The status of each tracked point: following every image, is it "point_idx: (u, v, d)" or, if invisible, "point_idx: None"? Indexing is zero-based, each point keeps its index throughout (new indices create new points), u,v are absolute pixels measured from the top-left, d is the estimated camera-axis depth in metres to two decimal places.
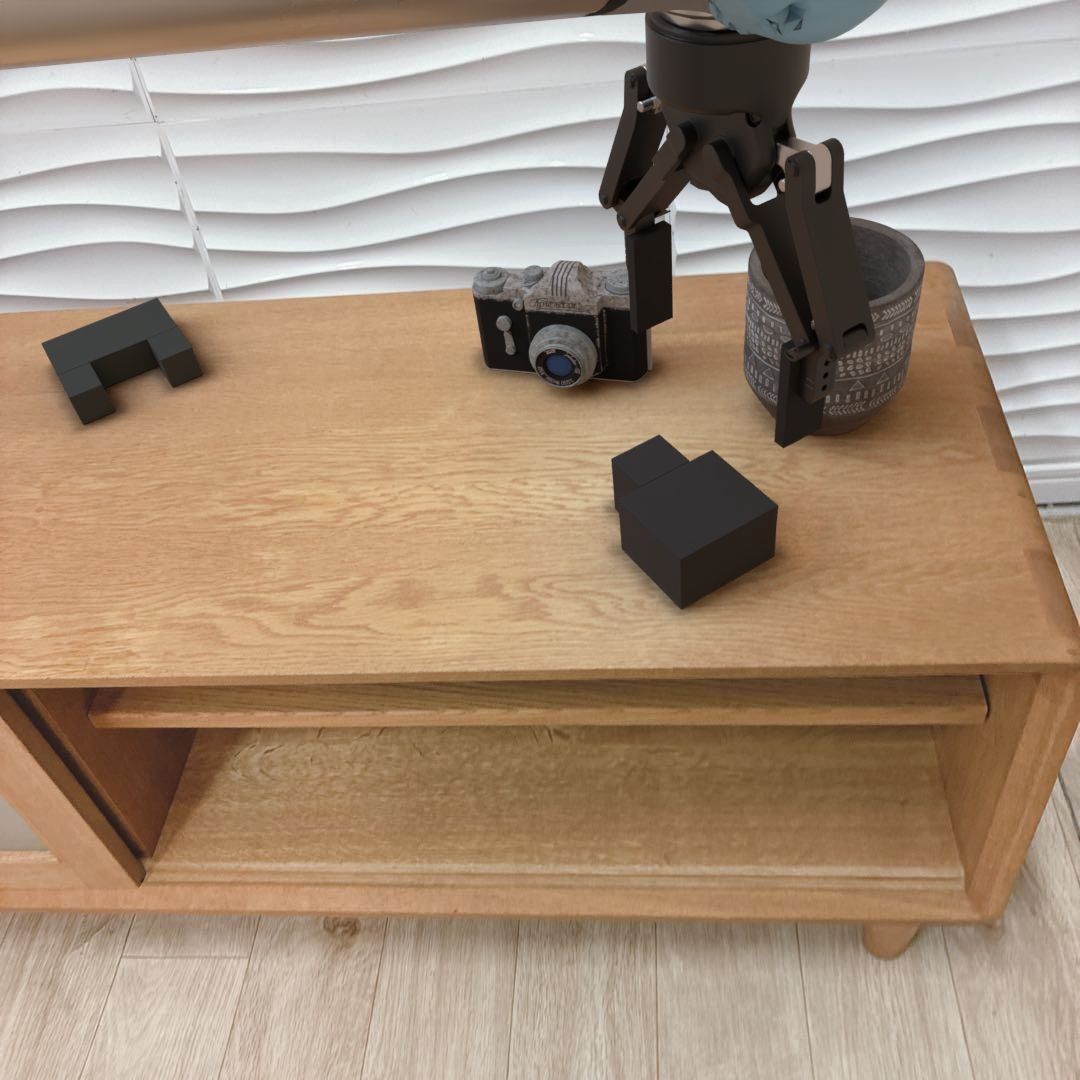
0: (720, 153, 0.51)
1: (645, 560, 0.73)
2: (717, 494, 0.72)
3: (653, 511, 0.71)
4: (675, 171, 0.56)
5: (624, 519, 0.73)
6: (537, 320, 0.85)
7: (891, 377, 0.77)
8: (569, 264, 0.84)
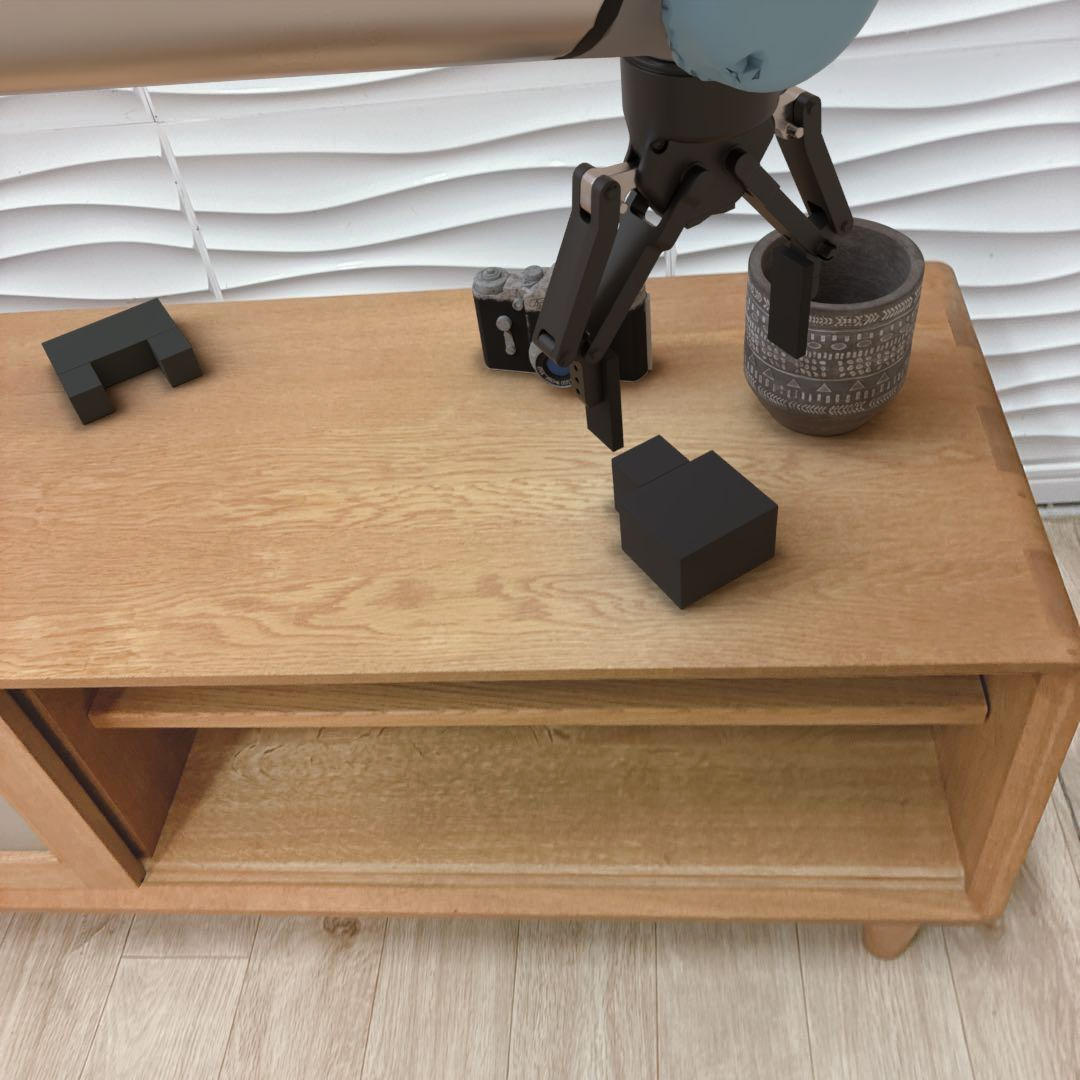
0: None
1: (645, 560, 0.73)
2: (717, 494, 0.72)
3: (653, 511, 0.71)
4: None
5: (624, 519, 0.73)
6: None
7: (891, 377, 0.77)
8: None
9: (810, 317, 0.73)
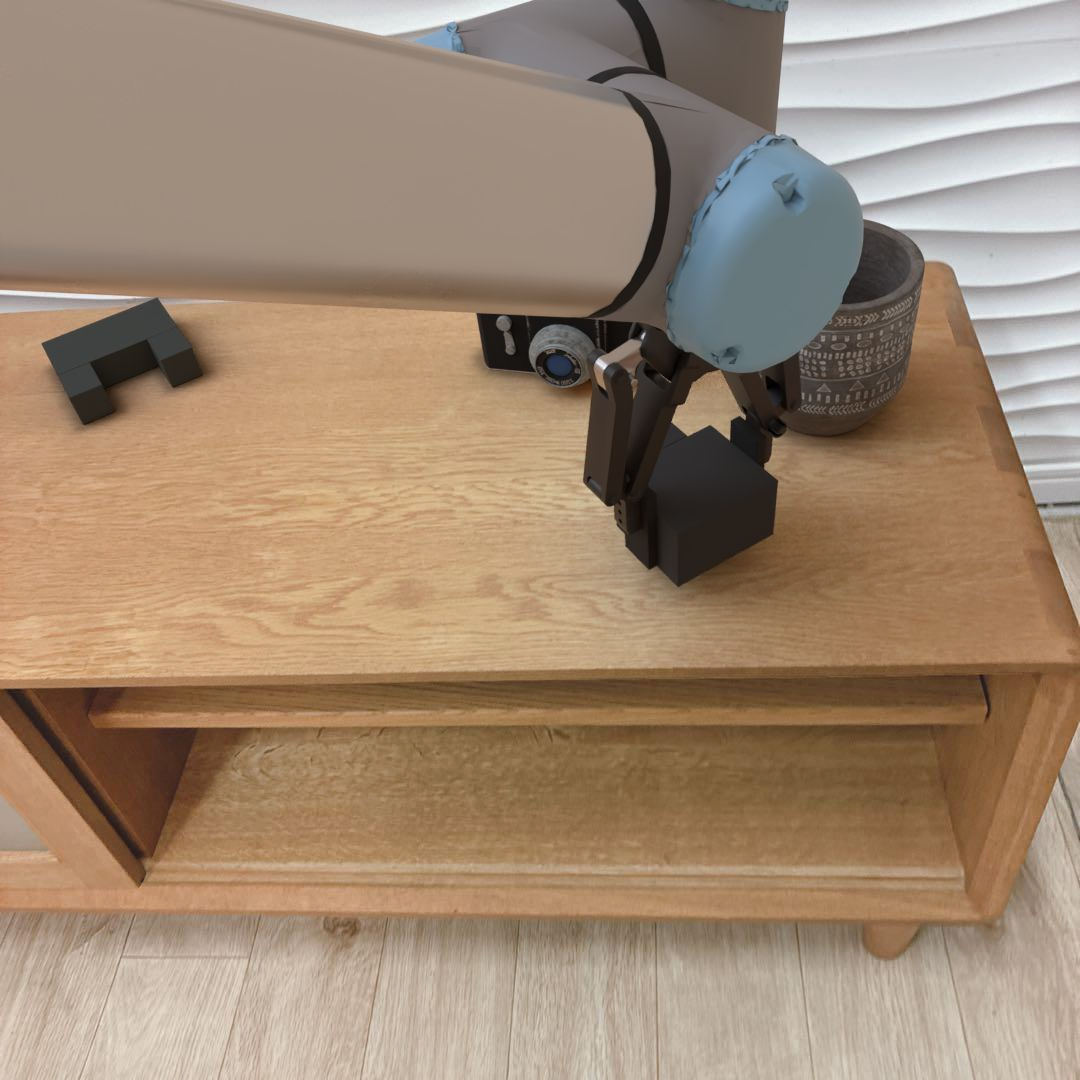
0: None
1: None
2: (716, 469, 0.70)
3: (650, 486, 0.70)
4: None
5: None
6: (537, 320, 0.85)
7: (891, 377, 0.77)
8: None
9: None
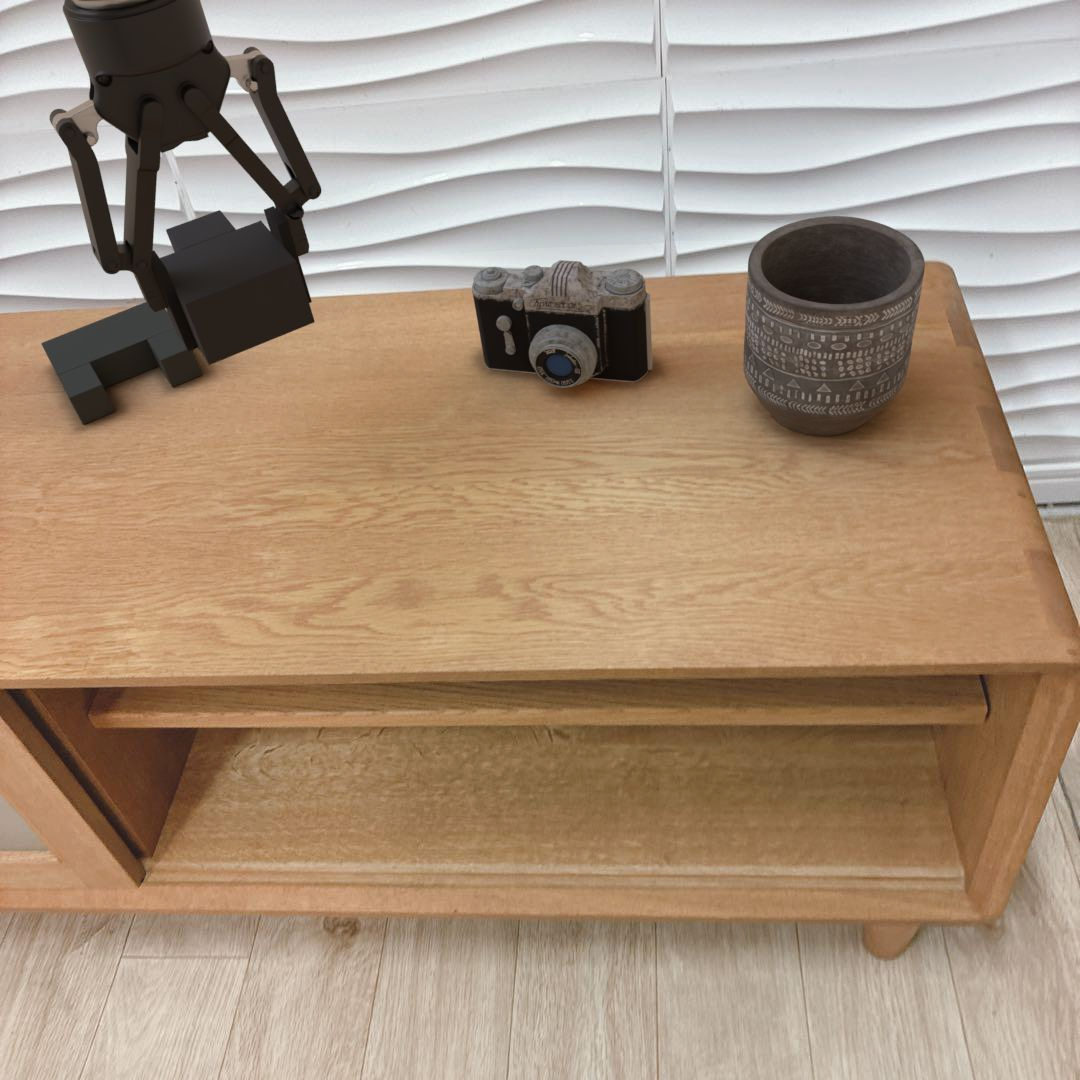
0: (201, 92, 0.65)
1: None
2: (246, 254, 0.74)
3: (181, 268, 0.74)
4: None
5: None
6: (537, 320, 0.85)
7: (891, 377, 0.77)
8: (569, 264, 0.84)
9: (810, 317, 0.73)
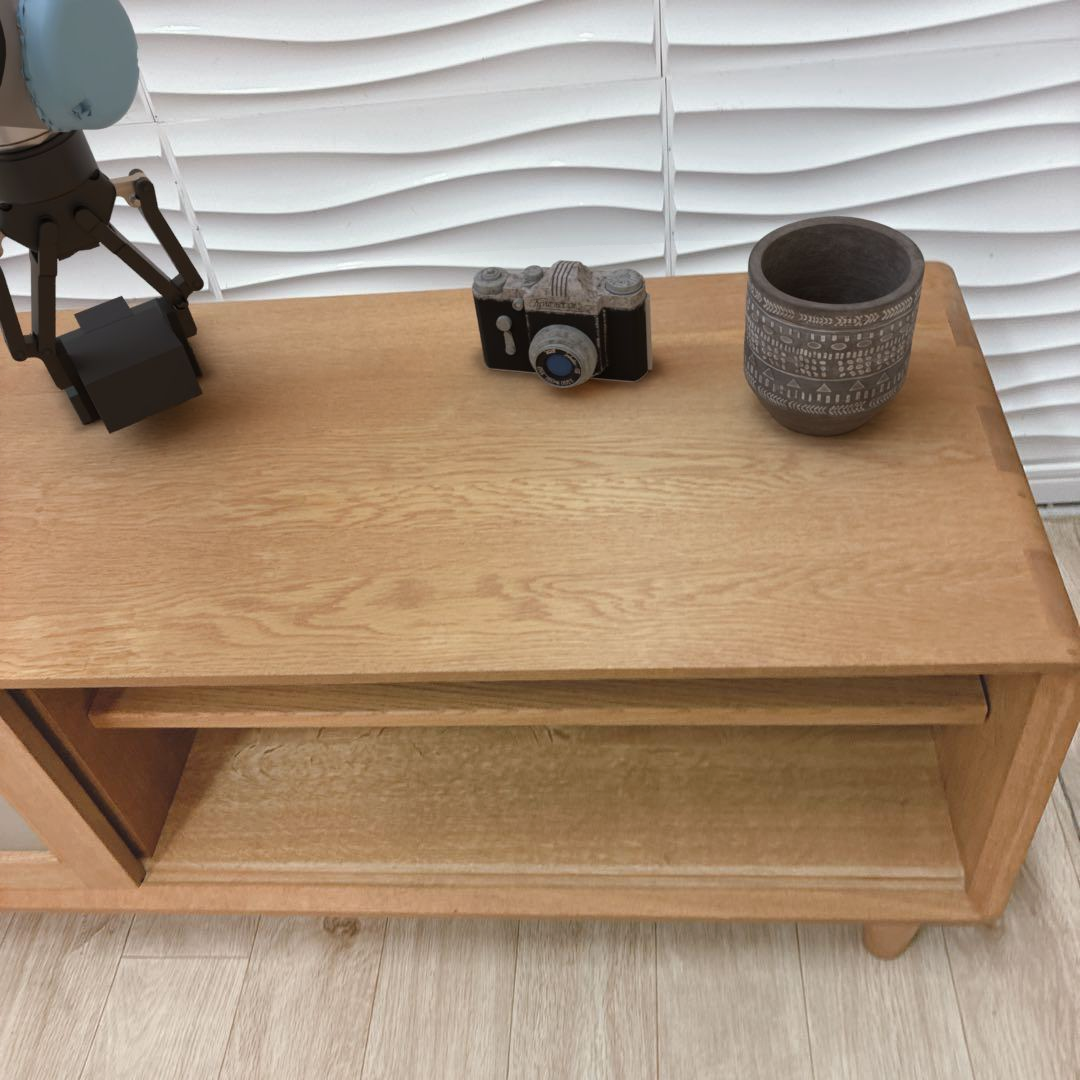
0: (90, 211, 0.77)
1: None
2: (140, 338, 0.86)
3: (84, 351, 0.86)
4: None
5: None
6: (537, 320, 0.85)
7: (891, 377, 0.77)
8: (569, 264, 0.84)
9: (810, 317, 0.73)
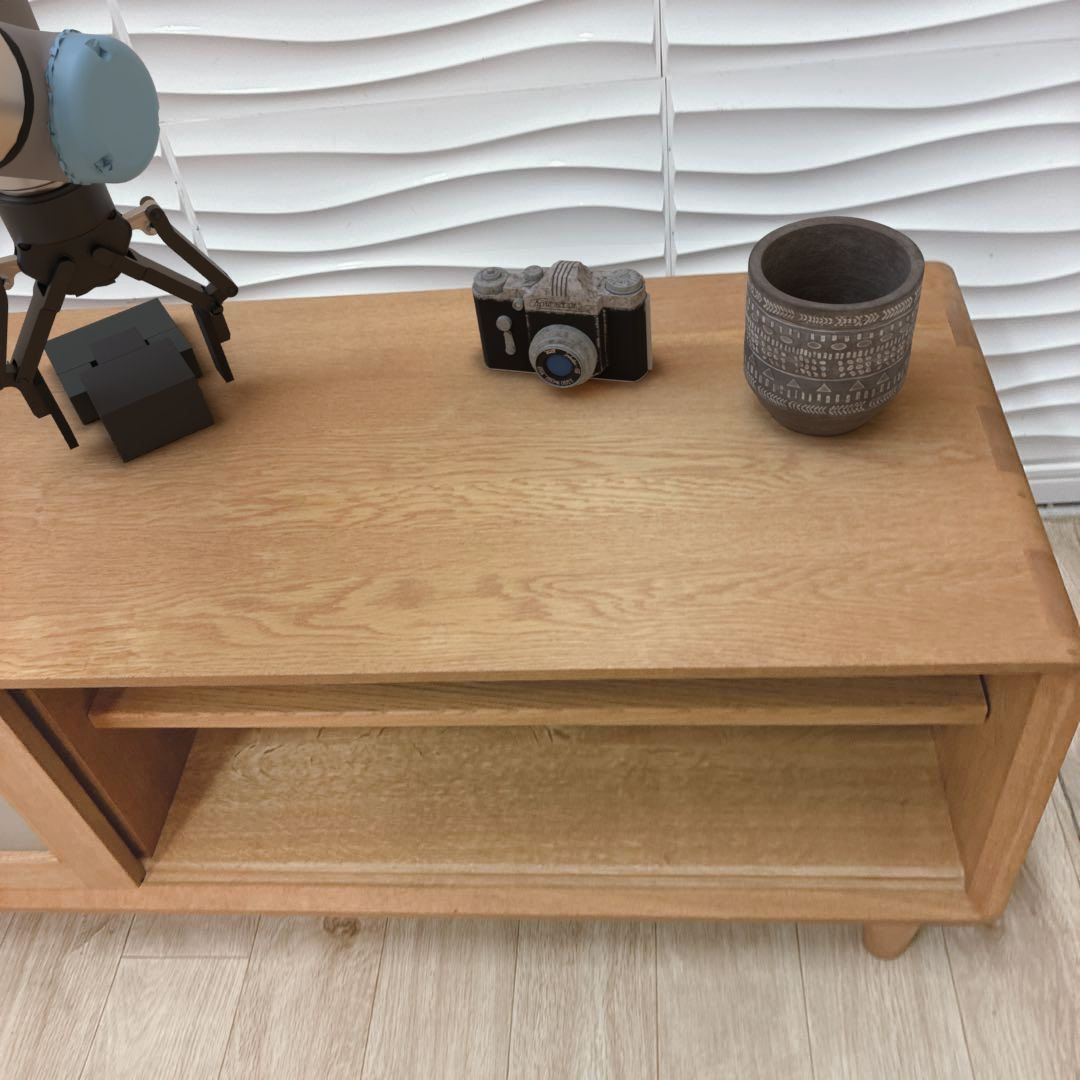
0: (105, 248, 0.79)
1: None
2: (154, 369, 0.89)
3: (99, 382, 0.88)
4: None
5: None
6: (537, 320, 0.85)
7: (891, 377, 0.77)
8: (569, 264, 0.84)
9: (810, 317, 0.73)
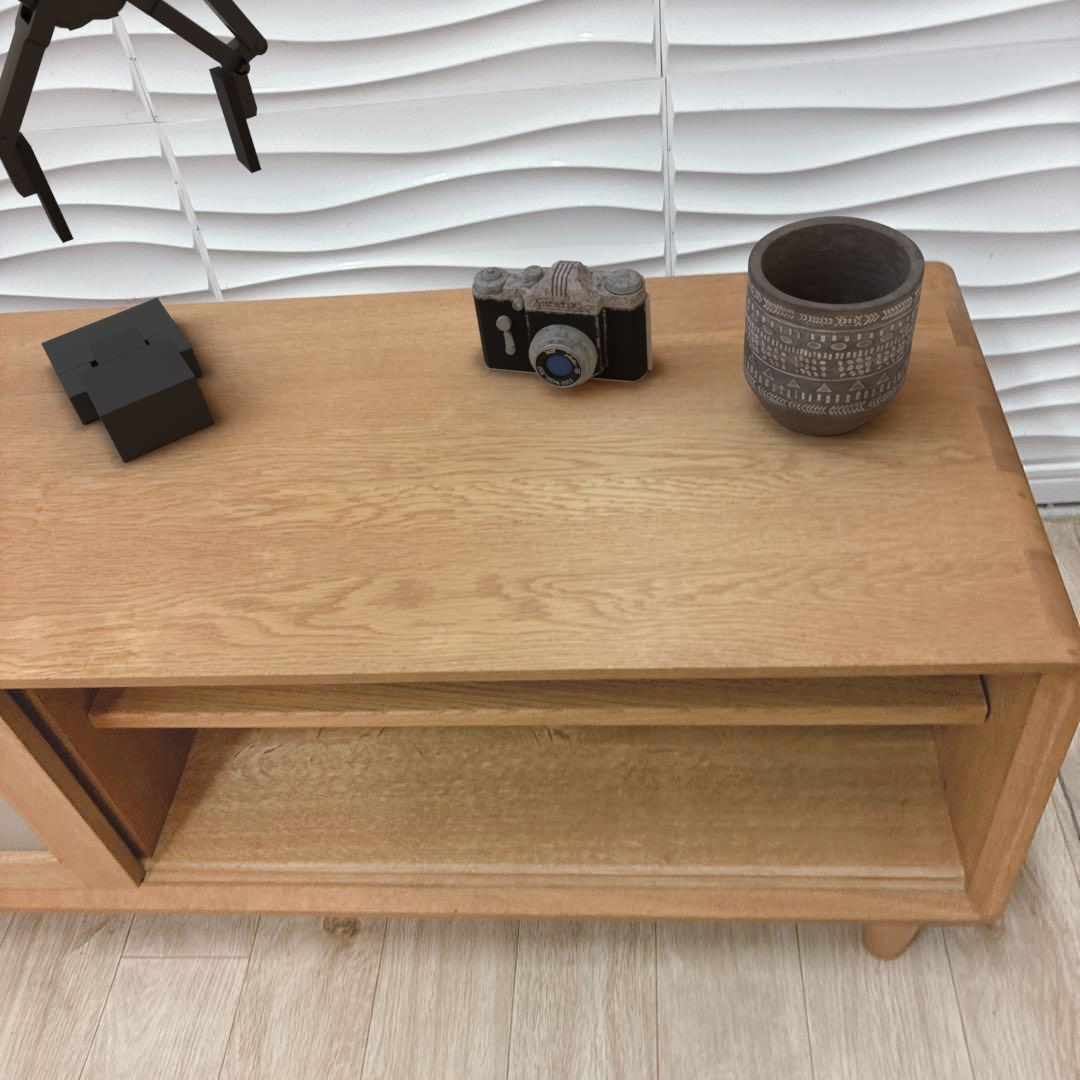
0: None
1: None
2: (154, 369, 0.89)
3: (99, 382, 0.88)
4: None
5: None
6: (537, 320, 0.85)
7: (891, 377, 0.77)
8: (569, 264, 0.84)
9: (810, 317, 0.73)
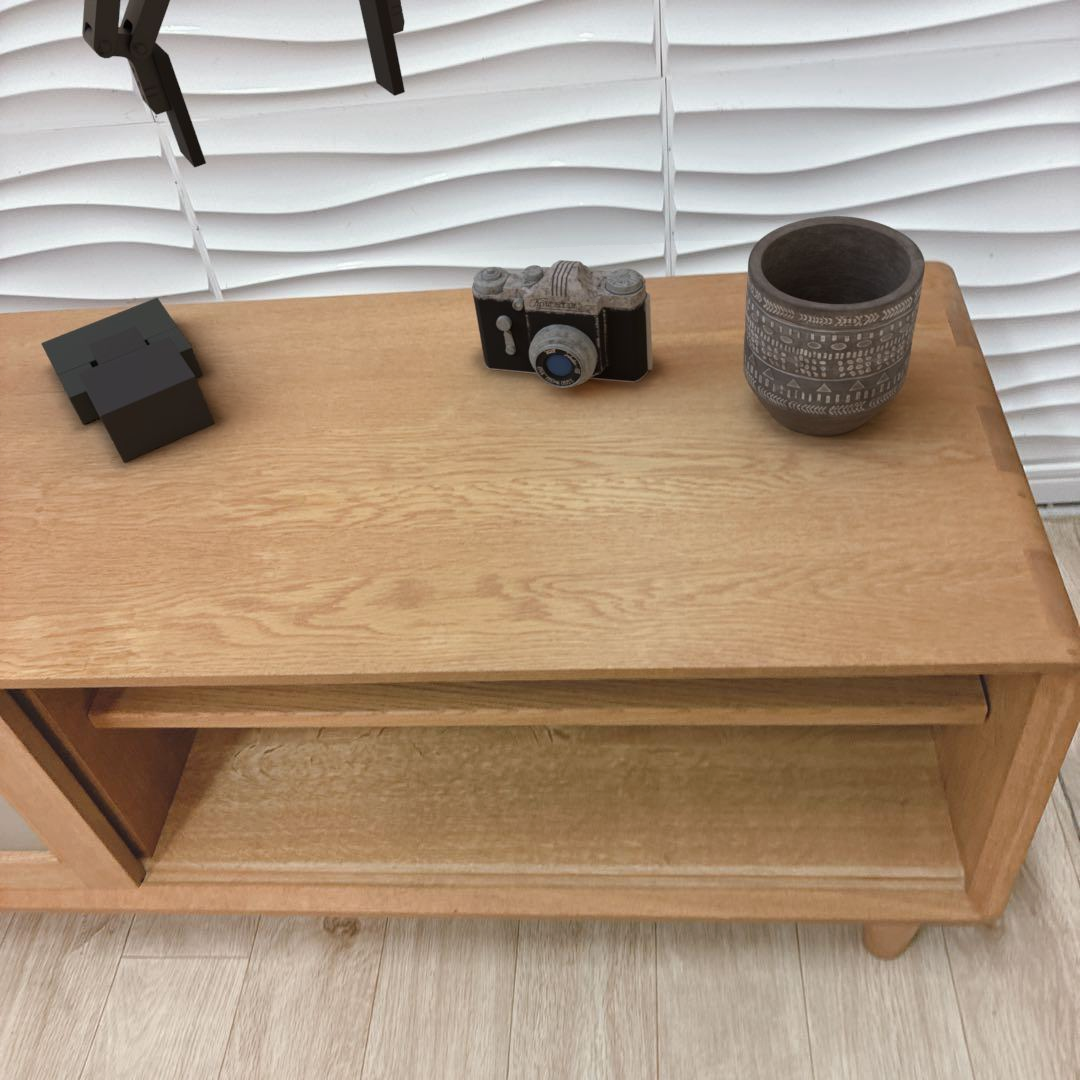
0: None
1: None
2: (154, 369, 0.89)
3: (99, 382, 0.88)
4: None
5: None
6: (537, 320, 0.85)
7: (891, 377, 0.77)
8: (569, 264, 0.84)
9: (810, 317, 0.73)
